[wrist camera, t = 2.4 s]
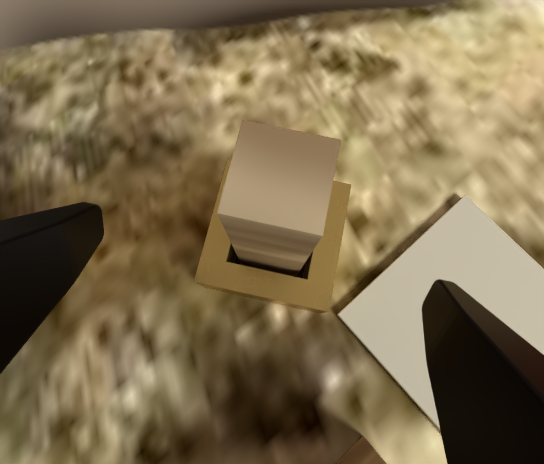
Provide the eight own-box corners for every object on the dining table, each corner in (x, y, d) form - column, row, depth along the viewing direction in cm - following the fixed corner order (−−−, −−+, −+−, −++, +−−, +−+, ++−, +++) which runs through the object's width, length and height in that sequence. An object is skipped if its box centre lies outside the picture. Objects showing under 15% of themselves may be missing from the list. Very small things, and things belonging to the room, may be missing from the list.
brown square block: (295, 276, 19) (322, 235, 10) (241, 264, 19) (216, 213, 10) (306, 225, 19) (340, 139, 10) (254, 213, 20) (242, 119, 10)
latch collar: (319, 313, 18) (328, 311, 15) (205, 287, 18) (194, 281, 16) (338, 204, 20) (351, 184, 17) (233, 182, 20) (227, 158, 17)
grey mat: (481, 477, 16) (486, 480, 16) (336, 314, 18) (338, 314, 18) (604, 333, 18) (612, 333, 18) (461, 197, 20) (465, 195, 20)
